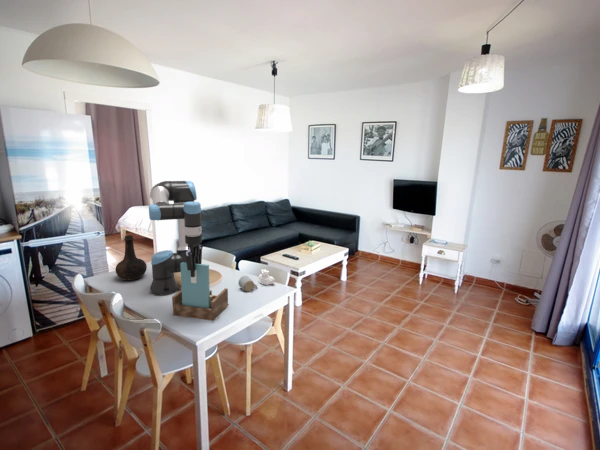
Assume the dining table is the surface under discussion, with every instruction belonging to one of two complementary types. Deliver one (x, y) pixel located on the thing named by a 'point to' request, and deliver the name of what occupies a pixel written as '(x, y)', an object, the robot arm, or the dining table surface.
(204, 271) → the teal sheet
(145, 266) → the glass bottle
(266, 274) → the white lumpy piece
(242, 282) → the ceramic mug
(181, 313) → the walnut rack
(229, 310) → the dining table surface
